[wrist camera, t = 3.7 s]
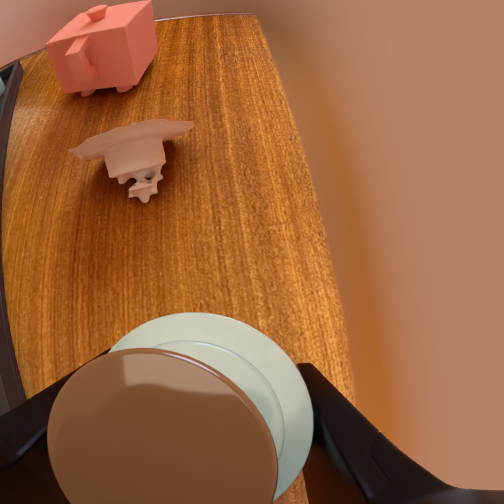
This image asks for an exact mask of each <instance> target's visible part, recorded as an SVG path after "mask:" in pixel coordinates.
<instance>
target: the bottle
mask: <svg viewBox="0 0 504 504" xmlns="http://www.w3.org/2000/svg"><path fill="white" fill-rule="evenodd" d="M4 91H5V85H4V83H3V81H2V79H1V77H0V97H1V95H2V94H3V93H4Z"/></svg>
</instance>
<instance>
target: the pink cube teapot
mask: <svg viewBox="0 0 504 504" xmlns="http://www.w3.org/2000/svg"><path fill="white" fill-rule="evenodd" d="M46 49H47V51H48V54H49V57H50V59H51V62H52V65H53V67H54V70H55V72H56V75H57V77H58V80H59V82H60V85H61V87H62V90H63V92H64V94H67V93H73V92H79V91H82V92H81V96H88V95H90V94H92V93H94V92H95V90H96V89H102V88H110V87H116V90H117V91H118V92H126V91H128V90H130V89H131V88H132V87H133V85H137V84H138V82H139V81H140V79H141V77H142V75H143V74H144V72H145V70H146V69H147V67H148V65H149V64H150V62H151V60H152V59H153V57H154V56H155V54H156V52H157V51H158V45H157V38H156V31H155V24H154V16H153V9H152V1H151V0H147V1H139V2H133V3H126V4H121V5H115V6H110V7H107V5H99V6H96V7H94V8H92V9H90V10H89V11H87V12H84V13H80V14H79V15H78V16H76V17H75V18H74V19H73V20H72V21H71V22H69V23H68V24H67V25H66V26H65V27H64V28H62V29H61V30H60V31H59V32H58V33H57V34H56V35H55V36H54V37H53V38H52V39H51V40H50V41H49V42H48V43H46Z"/></svg>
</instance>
